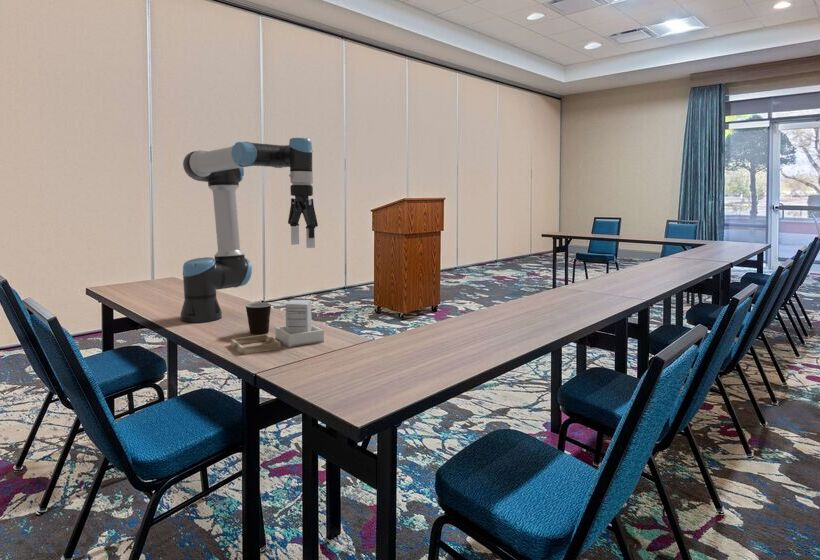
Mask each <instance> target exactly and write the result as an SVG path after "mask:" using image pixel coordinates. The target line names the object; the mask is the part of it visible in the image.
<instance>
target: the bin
mask: <svg viewBox="0 0 820 560" xmlns="http://www.w3.org/2000/svg"><path fill="white" fill-rule="evenodd" d="M274 328H275V330H274V332H275V334H274V335H275V339H276V340H277V341H278V340H279V342H281V343H282V344H283V345H284V346H286V347H288V348H292V347H293V348H294V347H299V345H300V346H306V344H307V345H312V344H313V345H314V344H319V343H324V341H325V330H324V329H322V328H320V327H318V326H317V325H314V324H312V331H310V332H303V333H296V334H289V333H287V332H286V325H282V326H275V327H274Z"/></svg>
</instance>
